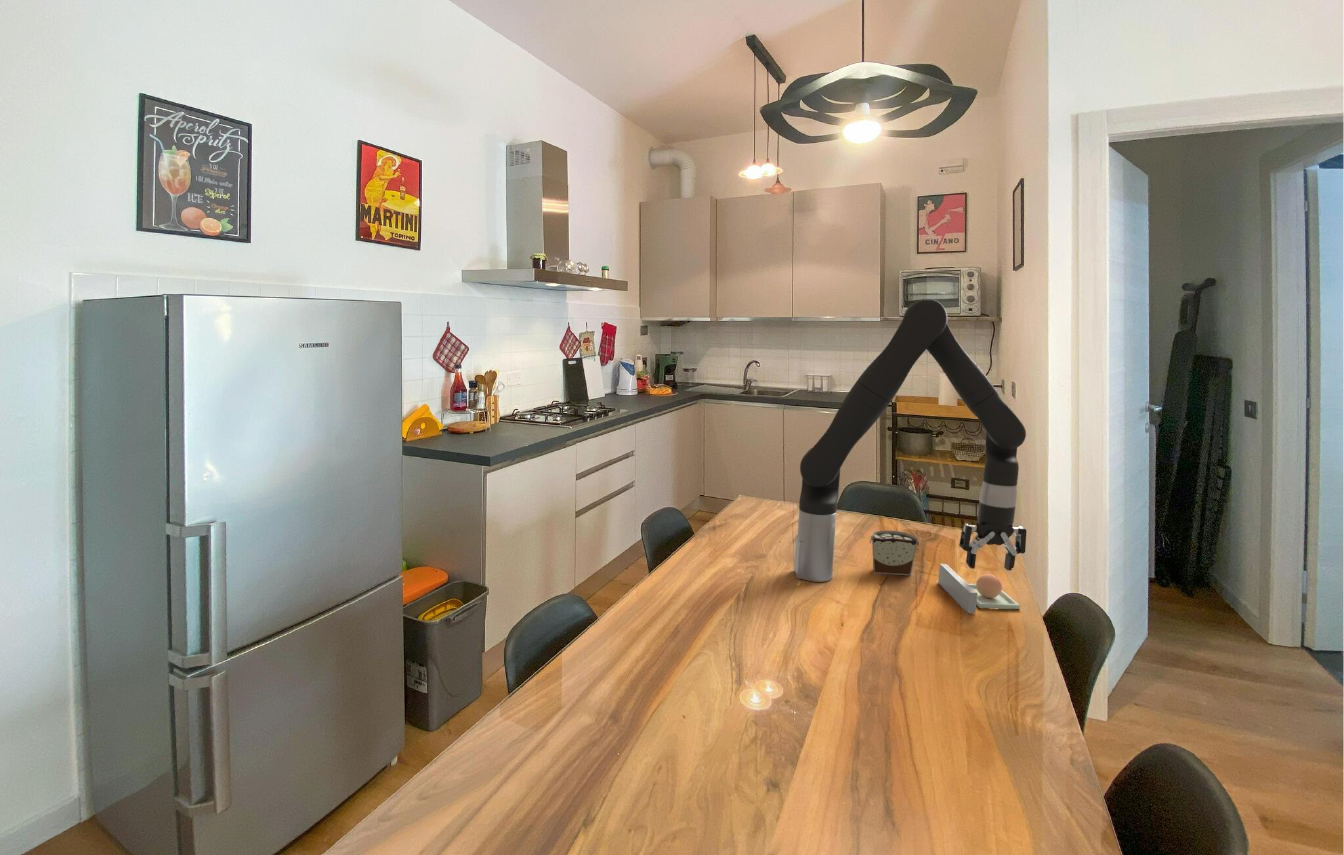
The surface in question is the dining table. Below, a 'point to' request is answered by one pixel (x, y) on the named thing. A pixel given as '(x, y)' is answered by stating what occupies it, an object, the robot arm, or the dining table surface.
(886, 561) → the food container
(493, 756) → the dining table surface
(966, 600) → the low wall
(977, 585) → the ball
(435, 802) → the dining table surface
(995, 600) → the sage tray
